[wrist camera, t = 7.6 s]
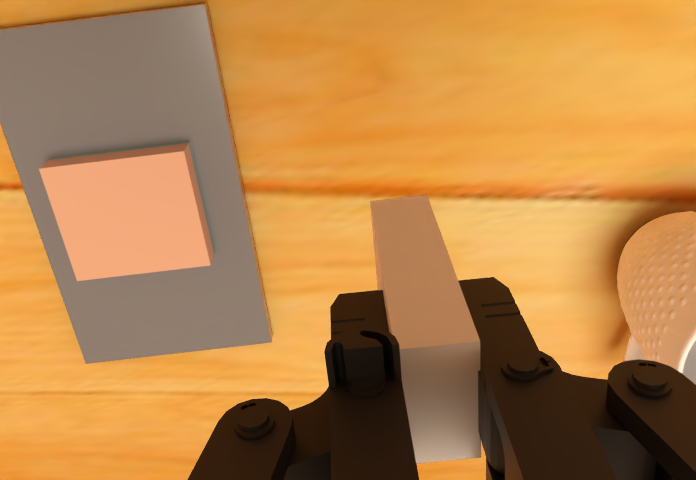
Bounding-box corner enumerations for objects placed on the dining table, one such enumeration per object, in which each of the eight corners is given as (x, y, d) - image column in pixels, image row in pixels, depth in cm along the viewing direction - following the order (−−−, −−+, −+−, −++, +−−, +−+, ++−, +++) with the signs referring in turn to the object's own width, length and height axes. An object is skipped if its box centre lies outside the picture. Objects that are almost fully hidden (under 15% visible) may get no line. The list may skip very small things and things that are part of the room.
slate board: (-24, 31, 40) (-32, 34, 39) (206, 2, 40) (204, 4, 39) (90, 355, 51) (85, 363, 50) (272, 334, 50) (271, 342, 49)
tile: (189, 141, 42) (50, 157, 42) (183, 151, 41) (38, 168, 41) (214, 251, 46) (86, 266, 46) (210, 265, 44) (77, 281, 44)
